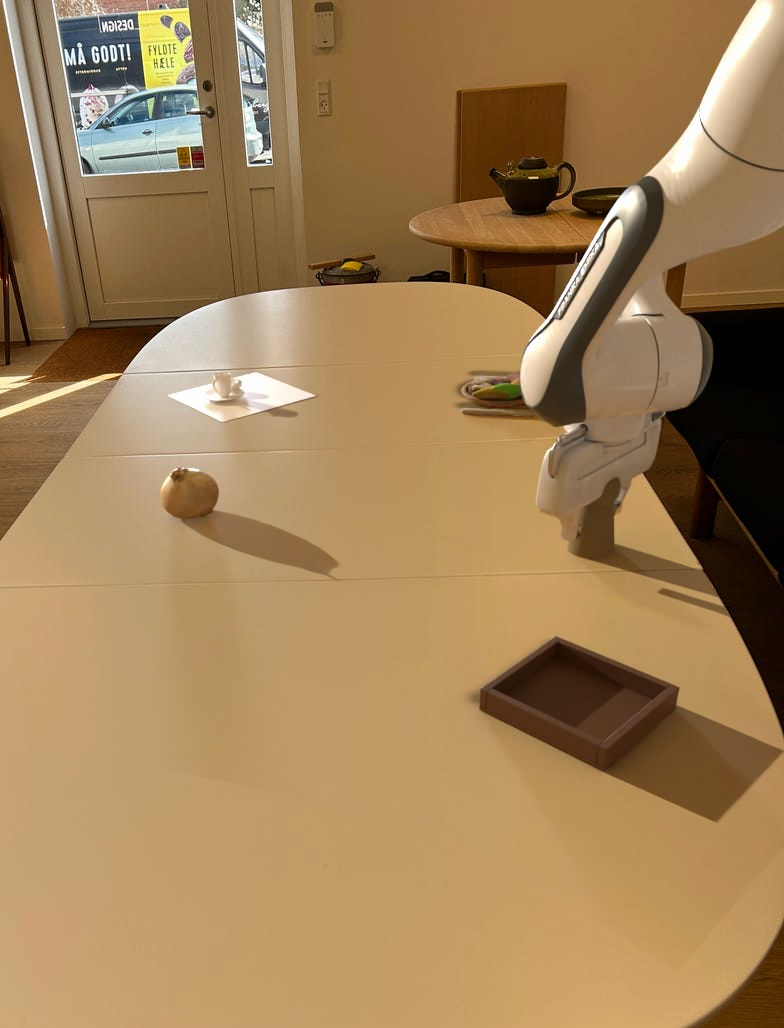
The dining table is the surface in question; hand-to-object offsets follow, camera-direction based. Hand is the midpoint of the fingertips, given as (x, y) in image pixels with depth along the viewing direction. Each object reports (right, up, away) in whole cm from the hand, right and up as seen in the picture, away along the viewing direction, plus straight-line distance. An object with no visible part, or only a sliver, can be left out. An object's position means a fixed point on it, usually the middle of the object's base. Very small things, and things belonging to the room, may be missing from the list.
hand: (591, 525), depth 116 cm
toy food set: (0, +29, +54) cm, 61 cm away
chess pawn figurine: (0, -4, +2) cm, 5 cm away
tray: (-8, -20, -23) cm, 32 cm away
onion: (-50, +4, +19) cm, 54 cm away
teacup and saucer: (-46, +31, +62) cm, 83 cm away
